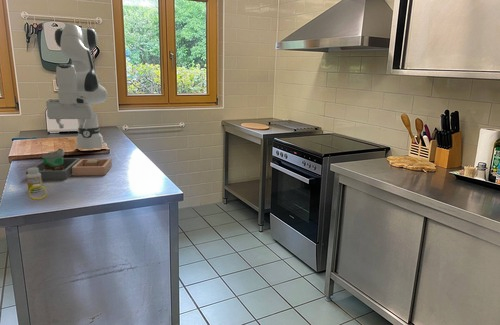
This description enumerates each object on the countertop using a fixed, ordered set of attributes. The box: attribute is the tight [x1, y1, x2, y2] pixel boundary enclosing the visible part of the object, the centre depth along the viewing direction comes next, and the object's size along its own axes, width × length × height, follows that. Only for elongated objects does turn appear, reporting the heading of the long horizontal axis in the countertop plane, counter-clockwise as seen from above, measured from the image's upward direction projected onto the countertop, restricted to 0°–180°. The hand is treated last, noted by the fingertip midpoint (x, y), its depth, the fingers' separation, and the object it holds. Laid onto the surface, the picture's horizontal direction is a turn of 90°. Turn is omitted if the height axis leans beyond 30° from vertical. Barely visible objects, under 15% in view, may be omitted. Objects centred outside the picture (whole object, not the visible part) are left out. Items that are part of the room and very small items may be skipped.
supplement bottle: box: [25, 166, 44, 193], centre depth 155 cm, size 5×5×10 cm
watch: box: [28, 184, 47, 201], centre depth 146 cm, size 6×3×6 cm, turn 119°
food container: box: [41, 148, 65, 171], centre depth 183 cm, size 12×6×10 cm, turn 168°
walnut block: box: [86, 160, 99, 167], centre depth 185 cm, size 5×5×5 cm
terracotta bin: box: [72, 158, 113, 176], centre depth 185 cm, size 16×15×4 cm
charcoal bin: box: [25, 157, 82, 181], centre depth 181 cm, size 24×17×4 cm
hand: (72, 128), depth 178 cm, fingers open, 8 cm apart
